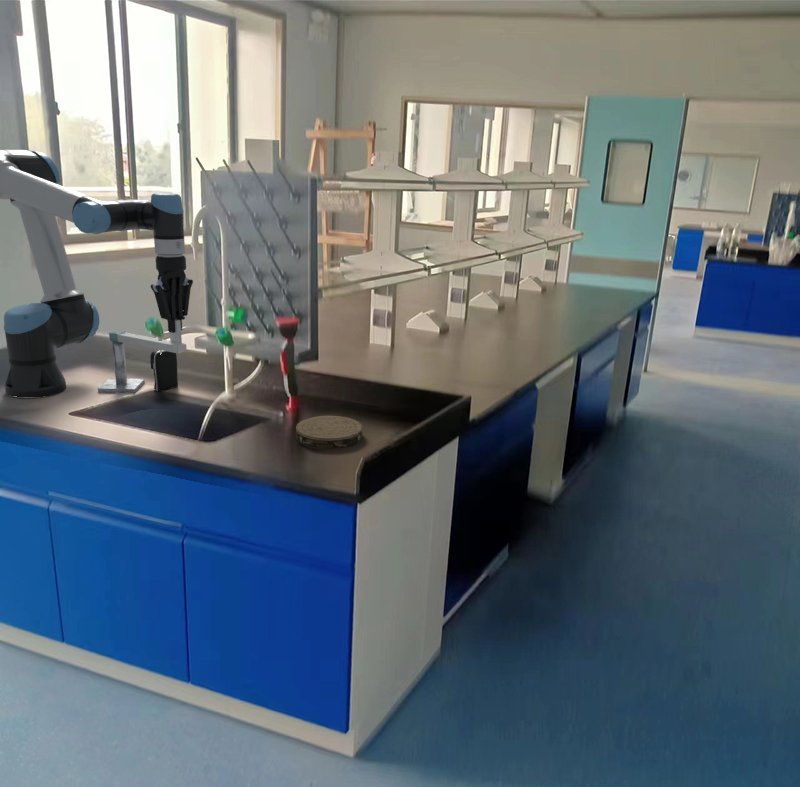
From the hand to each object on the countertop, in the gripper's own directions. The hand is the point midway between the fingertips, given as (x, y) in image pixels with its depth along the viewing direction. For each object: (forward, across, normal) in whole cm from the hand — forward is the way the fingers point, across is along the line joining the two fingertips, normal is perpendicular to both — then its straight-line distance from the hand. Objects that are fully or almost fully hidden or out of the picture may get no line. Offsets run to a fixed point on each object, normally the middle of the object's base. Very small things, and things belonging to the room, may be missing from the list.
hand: (176, 343), depth 197 cm
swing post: (+15, -3, +20) cm, 25 cm away
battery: (+16, +4, +10) cm, 19 cm away
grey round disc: (+16, -2, -51) cm, 53 cm away
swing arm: (+1, -2, +9) cm, 9 cm away
